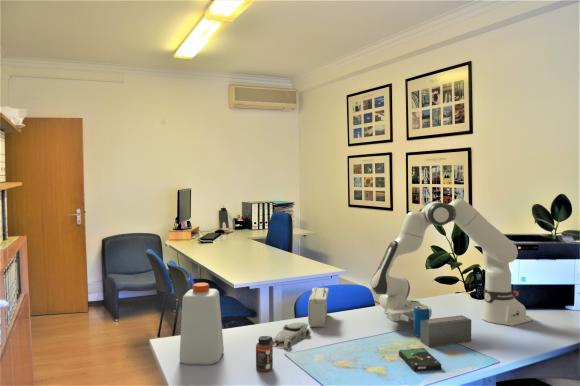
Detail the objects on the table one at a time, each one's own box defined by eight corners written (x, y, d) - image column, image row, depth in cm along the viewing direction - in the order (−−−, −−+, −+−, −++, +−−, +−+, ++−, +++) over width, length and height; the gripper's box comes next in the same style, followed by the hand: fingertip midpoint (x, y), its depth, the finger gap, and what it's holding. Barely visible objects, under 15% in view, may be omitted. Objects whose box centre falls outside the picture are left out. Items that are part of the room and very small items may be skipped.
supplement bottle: (273, 372, 161) (272, 340, 160) (256, 372, 160) (255, 341, 160) (272, 364, 167) (272, 334, 166) (256, 365, 166) (255, 334, 165)
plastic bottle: (187, 349, 181) (186, 279, 180) (225, 349, 181) (224, 279, 180) (176, 365, 166) (175, 289, 165) (218, 366, 166) (217, 289, 164)
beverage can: (411, 332, 199) (411, 304, 198) (425, 331, 200) (425, 304, 199) (416, 337, 193) (416, 309, 192) (431, 337, 193) (431, 309, 192)
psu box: (461, 336, 194) (461, 314, 194) (471, 341, 188) (471, 319, 188) (419, 341, 188) (420, 319, 188) (428, 347, 182) (429, 324, 182)
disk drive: (442, 371, 162) (423, 354, 176) (442, 364, 161) (423, 347, 176) (414, 373, 160) (397, 356, 175) (414, 366, 160) (398, 348, 175)
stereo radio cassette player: (312, 313, 226) (311, 273, 225) (328, 314, 225) (328, 273, 224) (307, 327, 206) (307, 283, 204) (326, 328, 204) (326, 284, 203)
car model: (263, 346, 185) (263, 334, 185) (292, 328, 206) (292, 317, 206) (287, 351, 180) (286, 339, 179) (314, 332, 201) (314, 320, 201)
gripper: (381, 304, 208) (397, 313, 194) (421, 300, 214) (439, 308, 200) (381, 318, 208) (397, 328, 195) (421, 313, 214) (439, 323, 201)
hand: (418, 318), depth 198 cm, fingers open, 8 cm apart
